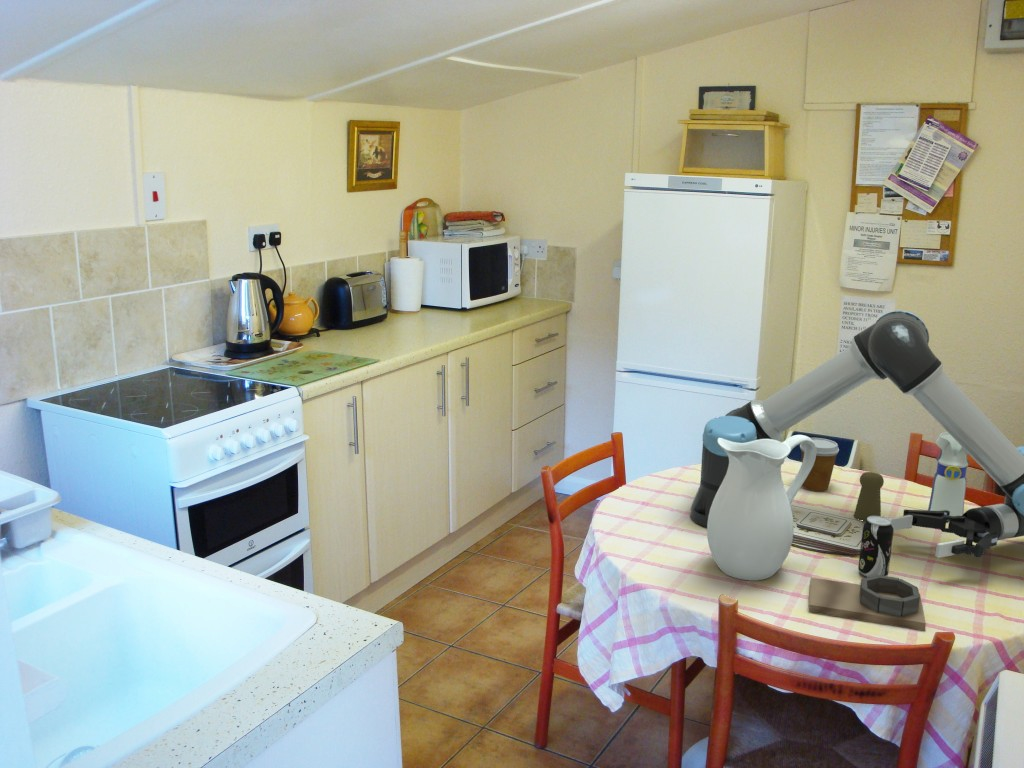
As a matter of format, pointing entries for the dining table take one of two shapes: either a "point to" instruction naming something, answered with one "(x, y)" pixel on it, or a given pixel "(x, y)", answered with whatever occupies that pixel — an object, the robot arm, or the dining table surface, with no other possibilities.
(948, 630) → the dining table surface
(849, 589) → the socket plate
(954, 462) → the white tall figurine
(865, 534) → the beverage can
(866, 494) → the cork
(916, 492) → the dining table surface
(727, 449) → the pitcher
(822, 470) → the disposable coffee cup
